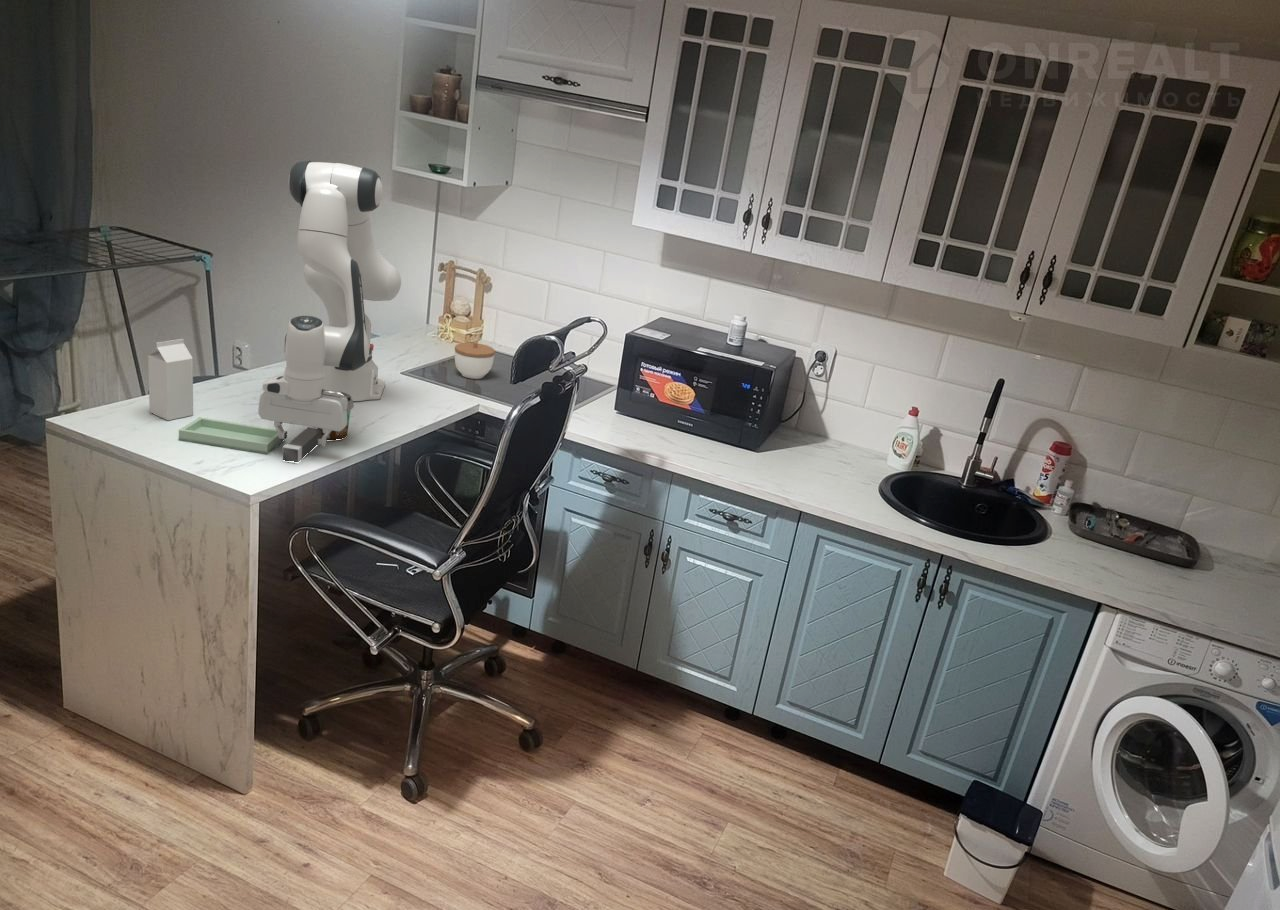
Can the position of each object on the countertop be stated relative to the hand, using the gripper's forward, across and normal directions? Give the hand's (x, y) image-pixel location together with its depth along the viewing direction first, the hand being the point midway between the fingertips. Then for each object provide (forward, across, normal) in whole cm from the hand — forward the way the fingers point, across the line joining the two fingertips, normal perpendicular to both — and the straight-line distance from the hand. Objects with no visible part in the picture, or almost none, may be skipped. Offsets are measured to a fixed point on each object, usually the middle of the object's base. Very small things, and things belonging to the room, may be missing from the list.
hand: (302, 441), depth 227 cm
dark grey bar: (+3, 0, 0) cm, 3 cm away
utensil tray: (+3, +17, 0) cm, 17 cm away
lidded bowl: (+2, -23, -83) cm, 87 cm away
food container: (+3, -4, -13) cm, 14 cm away
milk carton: (+3, +37, -10) cm, 39 cm away
